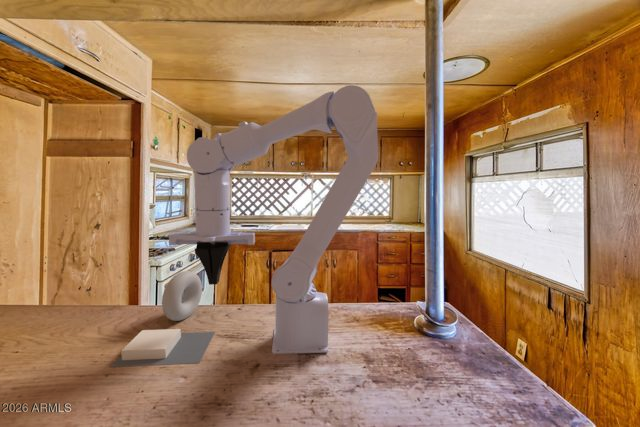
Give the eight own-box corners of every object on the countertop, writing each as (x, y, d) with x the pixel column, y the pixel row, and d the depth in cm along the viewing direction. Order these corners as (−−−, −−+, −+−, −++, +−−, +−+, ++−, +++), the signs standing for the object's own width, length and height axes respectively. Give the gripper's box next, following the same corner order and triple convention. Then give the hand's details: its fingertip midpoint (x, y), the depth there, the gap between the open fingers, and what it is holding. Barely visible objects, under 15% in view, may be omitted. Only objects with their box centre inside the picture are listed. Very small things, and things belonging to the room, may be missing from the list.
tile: (180, 328, 49) (142, 330, 48) (165, 348, 43) (121, 350, 42) (180, 337, 49) (142, 338, 49) (165, 358, 43) (121, 360, 43)
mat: (215, 333, 51) (215, 331, 51) (199, 365, 42) (199, 362, 42) (141, 336, 50) (141, 334, 50) (109, 369, 41) (109, 366, 41)
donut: (174, 332, 52) (172, 281, 51) (158, 329, 52) (156, 279, 51) (206, 308, 62) (205, 265, 60) (192, 307, 62) (191, 264, 61)
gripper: (159, 211, 44) (162, 291, 46) (251, 212, 46) (251, 290, 47) (177, 207, 51) (179, 277, 53) (256, 208, 53) (256, 276, 54)
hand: (214, 282), depth 50 cm, fingers closed
